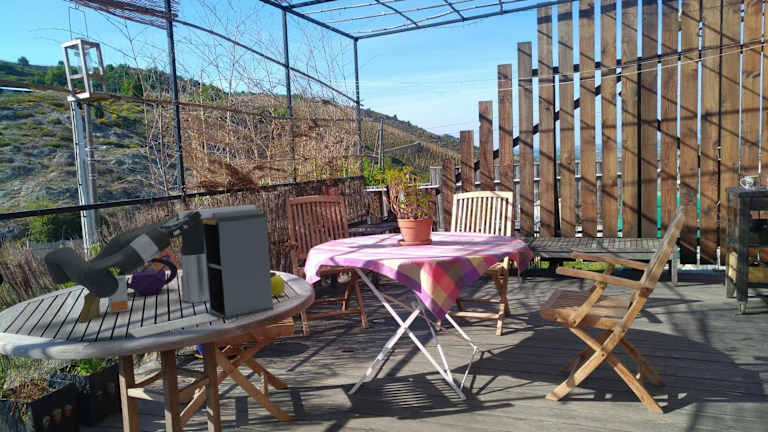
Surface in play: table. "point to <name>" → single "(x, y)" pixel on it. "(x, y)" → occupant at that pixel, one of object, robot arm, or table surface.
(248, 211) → the rack
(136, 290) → the purple handbag
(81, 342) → the table surface
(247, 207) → the panel
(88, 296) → the rock
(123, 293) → the skincare box
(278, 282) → the lemon
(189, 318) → the mat
